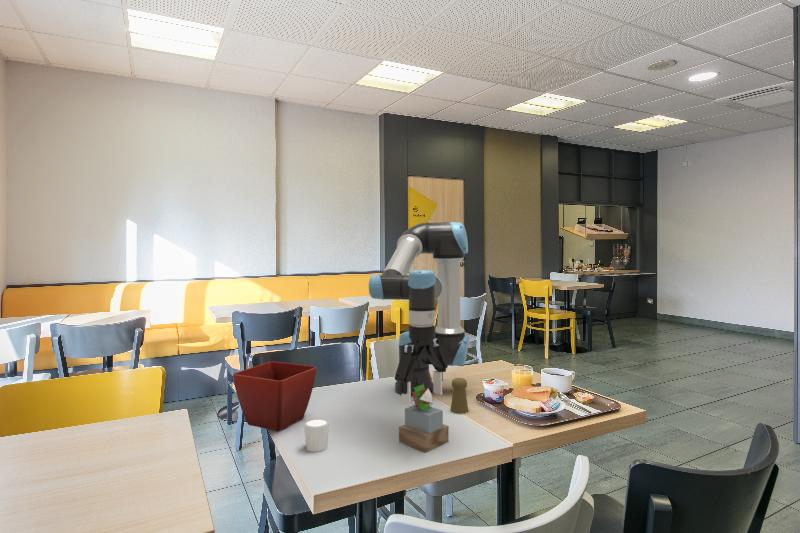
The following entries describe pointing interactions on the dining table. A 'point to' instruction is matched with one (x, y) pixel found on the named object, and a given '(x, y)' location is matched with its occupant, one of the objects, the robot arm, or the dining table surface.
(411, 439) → the tower base block
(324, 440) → the white cup
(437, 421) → the tower top block
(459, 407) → the cork
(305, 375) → the plant pot
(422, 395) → the geometric puzzle
